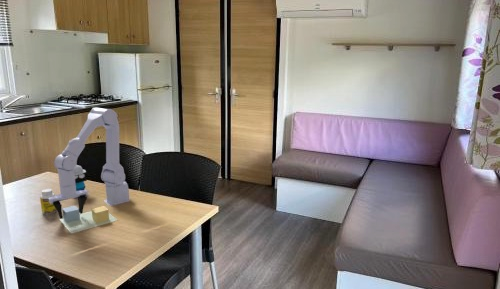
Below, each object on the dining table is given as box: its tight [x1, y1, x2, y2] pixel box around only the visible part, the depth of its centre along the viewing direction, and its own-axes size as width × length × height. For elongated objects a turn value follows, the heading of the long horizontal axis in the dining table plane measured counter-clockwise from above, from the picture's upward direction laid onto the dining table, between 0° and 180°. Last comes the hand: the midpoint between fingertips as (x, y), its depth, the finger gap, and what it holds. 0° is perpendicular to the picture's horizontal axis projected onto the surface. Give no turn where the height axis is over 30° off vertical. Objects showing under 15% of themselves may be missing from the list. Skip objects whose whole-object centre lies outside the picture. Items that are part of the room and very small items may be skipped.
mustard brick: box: [91, 205, 110, 223], centre depth 153 cm, size 5×5×4 cm
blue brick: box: [62, 205, 81, 223], centre depth 154 cm, size 5×5×4 cm
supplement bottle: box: [39, 188, 57, 215], centre depth 160 cm, size 6×6×10 cm
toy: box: [74, 164, 87, 191], centre depth 179 cm, size 8×9×15 cm
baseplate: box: [59, 210, 118, 234], centre depth 154 cm, size 18×16×1 cm
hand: (71, 215), depth 154 cm, fingers open, 7 cm apart
